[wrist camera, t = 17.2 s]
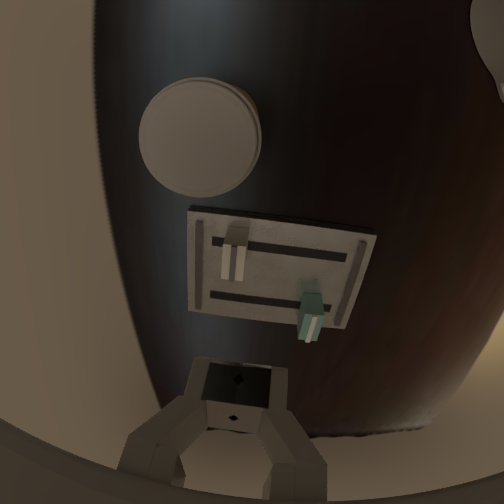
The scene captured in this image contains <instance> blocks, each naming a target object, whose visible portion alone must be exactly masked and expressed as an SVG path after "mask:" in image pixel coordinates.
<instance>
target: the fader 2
mask: <svg viewBox="0 0 504 504" xmlns="http://www.w3.org/2000/svg"><path fill="white" fill-rule="evenodd" d="M324 316H325V314H324V307H323V300H322V295H320V294H311V293H303V296H302V300H301V304H300V308H299V312H298V316H297V329H298V339H301V340H305V342H309V343H310V340H312V341H317V338H318V335H319V332H320V329H321V326H322V323H323V320H324Z"/></svg>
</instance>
